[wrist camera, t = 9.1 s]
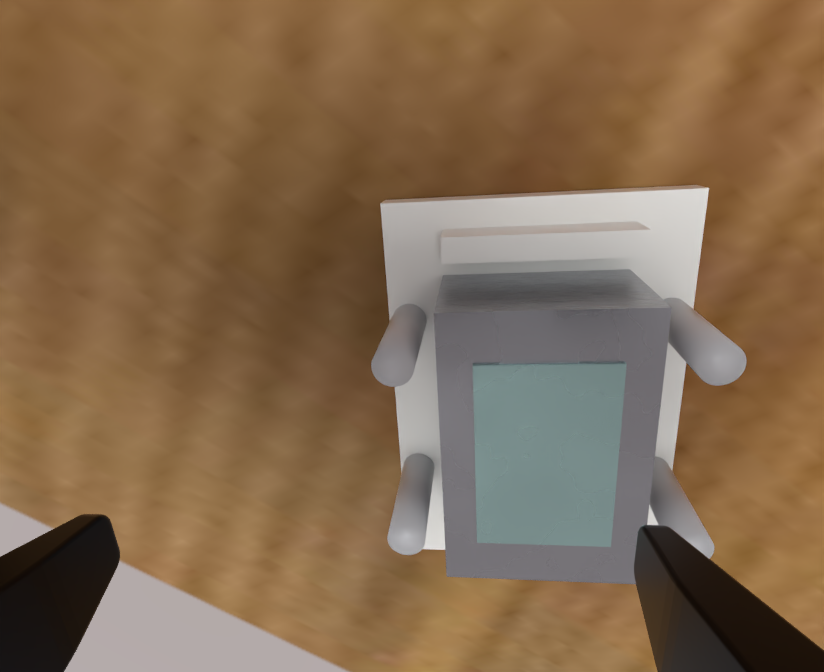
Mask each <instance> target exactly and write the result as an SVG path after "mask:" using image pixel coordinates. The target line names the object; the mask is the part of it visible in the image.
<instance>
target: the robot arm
mask: <svg viewBox="0 0 824 672" xmlns="http://www.w3.org/2000/svg"><path fill="white" fill-rule="evenodd" d="M119 559H120V550H119V547H118V543H117V540H116V537H115V534H114V531H113V527H112V524H111V521H110V519H109V518H108V517H107V516H105V515H102V514H84V515H80V516H78V517H76V518H74V519H72V520H70V521H68V522H66V523H64V524H62V525H60V526H59V527H57V528H55V529H53V530H51V531H49V532H47V533H45V534H43V535H41V536H39V537H38V538H36V539H34V540H32V541H30V542H28V543H26V544H24V545H22V546H20V547H18V548H16V549H14V550H12V551H11V552H9V553H7V554H5V555H3V556H1V557H0V672H64V671H65V669H66V667H67V666H68V664H69V662H70V660H71V659H72V657H73V655H74V653H75V652H76V650H77V647H78V646H79V644H80V642H81V640H82V638H83V636H84V634H85V632H86V630H87V628H88V626H89V624H90V622H91V620H92V618H93V615H94V614H95V611H96V609H97V607H98V605H99V603H100V601H101V599H102V597H103V595H104V593H105V591H106V589H107V587H108V585H109V583H110V581H111V578H112V577H113V575H114V572H115V570H116V568H117V566H118V563H119ZM634 576H635V582H636V586H637V590H638V594H639V598H640V602H641V606H642V610H643V614H644V619H645V623H646V627H647V631H648V635H649V639H650V643H651V647H652V651H653V655H654V659H655V663H656V667H657V671H658V672H824V650H823V649H821V648H820V647H819V646H818V645H816V644H815V643H814V642H813V641H811V640H810V639H809V638H808V637H806V636H805V635H804V634H803V633H801V632H800V631H799V630H798V629H796V628H795V627H794V626H793V625H791V624H790V623H789V622H788V621H786V620H785V619H784V618H783V617H781V616H780V615H779V614H778V613H776V612H775V611H774V610H773V609H771V608H770V607H769V606H768V605H766V604H765V603H764V602H763V601H761V600H760V599H759V598H758V597H756V596H755V595H754V594H753V593H751V592H750V591H749V590H748V589H746V588H745V587H744V586H743V585H741V584H740V583H739V582H738V581H736V580H735V579H734V578H733V577H731V576H730V575H729V574H728V573H726V572H725V571H724V570H723V569H721V568H720V567H719V566H718V565H716V564H715V563H714V562H713V561H711V560H710V559H709V558H708V557H706V556H705V555H704V554H703V553H701V552H700V551H699V550H698V549H696V548H695V547H694V546H693V545H691V544H690V543H689V542H688V541H686V540H685V539H684V538H683V537H681V536H680V535H679V534H678V533H676V532H675V531H674V530H673V529H671V528H670V527H668V526H665V525H643V526H641V527H640V528H639V531H638V536H637V544H636V552H635V560H634Z"/></svg>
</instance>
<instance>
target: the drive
mask: <svg viewBox="0 0 824 672" xmlns="http://www.w3.org/2000/svg"><path fill="white" fill-rule="evenodd" d="M671 310H672V307H671V306H670V305H669V304H668V303H666V302H665V301H664V300H663V299H662V298H661V297H660V296H659V295H658V294H657V293H655V292H654V291H653V290H652V289H651V288H650V287H649V286H648V285H647V284H646V283H645V282H643V281H642V280H641V279H640V278H639V277H638V276H637V275H636V274H635V273H634V272H632V271H631V270H630V269H621V270H589V271H557V272H526V273H494V274H462V275H443V276H442V280H441V284H440V289H439V293H438V297H437V301H436V305H435V309H434V329H435V349H436V370H437V390H438V410H439V430H440V450H441V471H442V491H443V511H444V531H445V551H446V572H447V577H470V578H495V579H520V580H545V581H570V582H595V583H620V584H636V582H635V576H634V560H635V552H636V544H637V536H638V531H639V528H640V527H641V526H643V525H647V522H648V513H649V504H650V495H651V487H652V478H653V469H654V460H655V451H656V443H657V434H658V425H659V416H660V407H661V399H662V390H663V381H664V372H665V363H666V355H667V346H668V337H669V328H670V319H671Z"/></svg>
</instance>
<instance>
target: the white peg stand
mask: <svg viewBox="0 0 824 672" xmlns="http://www.w3.org/2000/svg"><path fill="white" fill-rule="evenodd" d="M708 192H709V188H707V187H703V186H699V185H683V186H663V187H642V188H621V189H601V190H580V191H560V192H539V193H518V194H498V195H477V196H457V197H436V198H416V199H395V200H385V201H383V202H382V203H381V204H380V205H381V218H382V231H383V243H384V256H385V269H386V281H387V294H388V307H389V320H390V322H389V325H388V327H387V329H386V331H385V333H384V335H383V338H382V340H381V342H380V344H379V346H378V348H377V351H376V353H375V355H374V357H373V360H372V364H371V368H372V372H373V375H374V376H375V378H376V379H377V380H378V381H379V382H381V383H382V384H384V385H386V386H391V387H395V396H396V409H397V421H398V434H399V447H400V459H401V472H402V474H401V478H400V483H399V488H398V492H397V497H396V501H395V506H394V510H393V515H392V519H391V524H390V528H389V533H388V543H389V545H390V547H391V548H392V549H393V550H394V551H396V552H398V553H400V554H404V555H413V554H416V553H418V552H420V551H421V550H422V549H435V550H445V531H444V511H443V491H442V471H441V450H440V430H439V410H438V390H437V370H436V349H435V329H434V309H435V305H436V301H437V297H438V293H439V289H440V284H441V280H442V276H443V275H462V274H494V273H526V272H557V271H589V270H621V269H630V270H631V271H632V272H634V273H635V274H636V275H637V276H638V277H639V278H640V279H641V280H642V281H643V282H645V283H646V284H647V285H648V286H649V287H650V288H651V289H652V290H653V291H654V292H655V293H657V294H658V295H659V296H660V297H661V298H662V299H663V300H664V301H665V302H666V303H668V304H669V305H670V306H671V307H672V310H671V319H670V328H669V337H668V346H667V355H666V363H665V372H664V381H663V390H662V399H661V407H660V416H659V425H658V434H657V443H656V451H655V460H654V469H653V478H652V487H651V495H650V504H649V513H648V522H647V525H665V526H668V527H670V528H671V529H673V530H674V531H675V532H676V533H678V534H679V535H680V536H681V537H683V538H684V539H685V540H686V541H688V542H689V543H690V544H691V545H693V546H694V547H695V548H696V549H698V550H699V551H700V552H701V553H703V554H704V555H705V556H706V557H708V558H710V557H711V556H712V555H713V552H714V544H713V542H712V540H711V538H710V536H709V535H708V533H707V531H706V529H705V528H704V526H703V524H702V522H701V521H700V519H699V517H698V515H697V514H696V512H695V510H694V508H693V507H692V505H691V503H690V501H689V500H688V498H687V496H686V494H685V493H684V491H683V489H682V487H681V486H680V484H679V482H678V480H677V479H676V477H675V475H674V473H673V472H672V469H673V461H674V454H675V446H676V438H677V430H678V423H679V415H680V407H681V400H682V392H683V384H684V377H685V369H686V363H687V364H688V365H689V366H690V367H691V368H692V369H693V370H694V371H695V373H696V374H697V375H698V376H699V377H700V378H701V379H702V380H703V381H704V382H706V383H708V384H711V385H717V386H719V385H726V384H729V383H731V382H733V381H735V380H736V379H738V378H739V377H740V376H741V374H742V373H743V372H744V370H745V367H746V362H747V361H746V355H745V353H744V352H743V350H742V349H741V348H740V347H738V346H737V345H736V344H735V343H734V342H732V341H731V340H730V339H729V338H728V337H726V336H725V335H724V334H723V333H721V332H720V331H719V330H718V329H717V328H715V327H714V326H713V325H712V324H711V323H709V322H708V321H707V320H706V319H705V318H703V317H702V316H701V315H700V314H699V313H697V312H696V311H695V310H694V309H693V307H694V300H695V292H696V284H697V277H698V269H699V261H700V254H701V246H702V238H703V230H704V223H705V215H706V207H707V200H708Z"/></svg>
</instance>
